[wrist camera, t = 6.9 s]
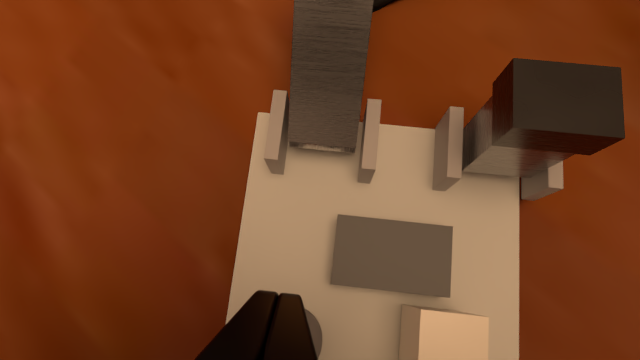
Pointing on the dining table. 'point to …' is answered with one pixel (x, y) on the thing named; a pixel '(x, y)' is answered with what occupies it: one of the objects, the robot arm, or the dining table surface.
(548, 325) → the dining table surface
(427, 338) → the slider
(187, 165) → the dining table surface
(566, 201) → the dining table surface
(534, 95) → the black lever
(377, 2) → the binder
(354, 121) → the orange lever
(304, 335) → the robot arm
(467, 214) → the panel
